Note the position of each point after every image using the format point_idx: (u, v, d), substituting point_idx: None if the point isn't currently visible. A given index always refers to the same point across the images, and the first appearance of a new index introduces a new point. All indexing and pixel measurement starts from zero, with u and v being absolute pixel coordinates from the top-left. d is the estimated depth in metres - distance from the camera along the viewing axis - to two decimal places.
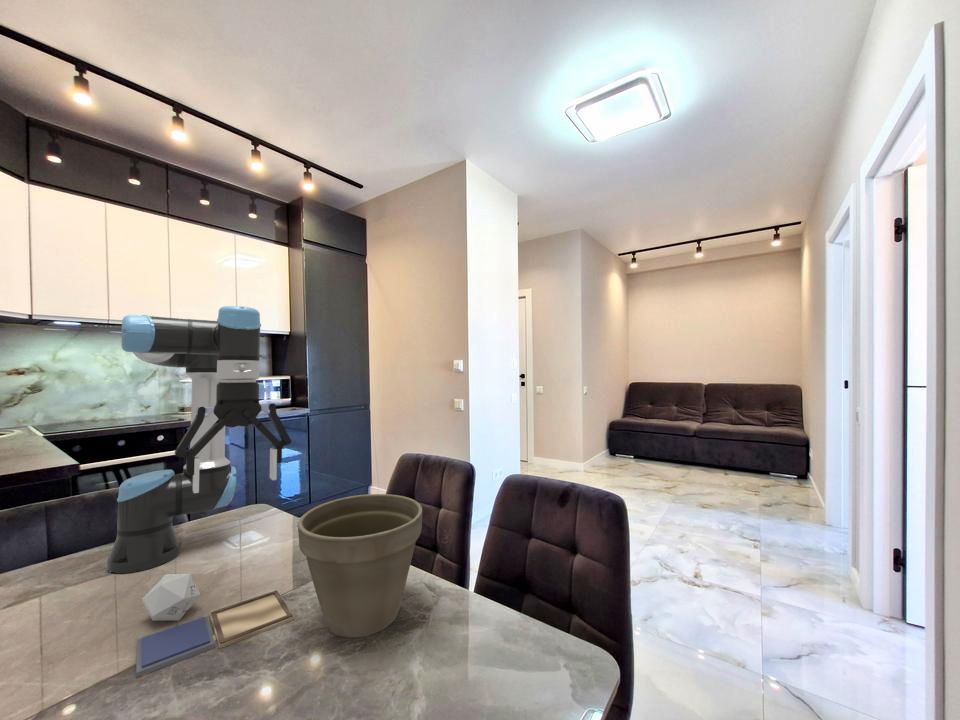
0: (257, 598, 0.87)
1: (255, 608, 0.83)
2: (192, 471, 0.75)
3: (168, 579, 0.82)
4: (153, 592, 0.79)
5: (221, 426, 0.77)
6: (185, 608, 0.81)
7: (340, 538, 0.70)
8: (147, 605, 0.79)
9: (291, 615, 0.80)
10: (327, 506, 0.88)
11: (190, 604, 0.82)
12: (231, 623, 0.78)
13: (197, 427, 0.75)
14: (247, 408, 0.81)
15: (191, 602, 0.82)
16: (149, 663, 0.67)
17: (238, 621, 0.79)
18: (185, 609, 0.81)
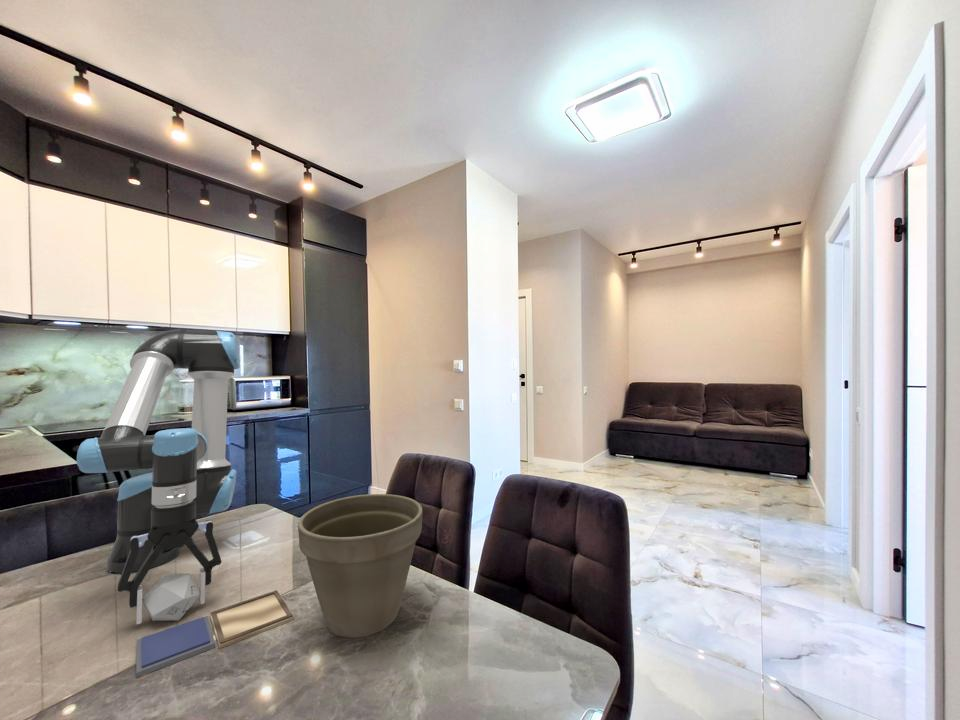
0: (257, 598, 0.87)
1: (255, 608, 0.83)
2: (135, 602, 0.78)
3: (168, 579, 0.82)
4: (153, 592, 0.79)
5: (158, 552, 0.80)
6: (185, 608, 0.81)
7: (340, 538, 0.70)
8: (147, 605, 0.79)
9: (291, 615, 0.80)
10: (327, 506, 0.88)
11: (190, 604, 0.82)
12: (231, 623, 0.78)
13: (134, 559, 0.77)
14: (184, 529, 0.83)
15: (191, 602, 0.82)
16: (149, 663, 0.67)
17: (238, 621, 0.79)
18: (185, 609, 0.81)
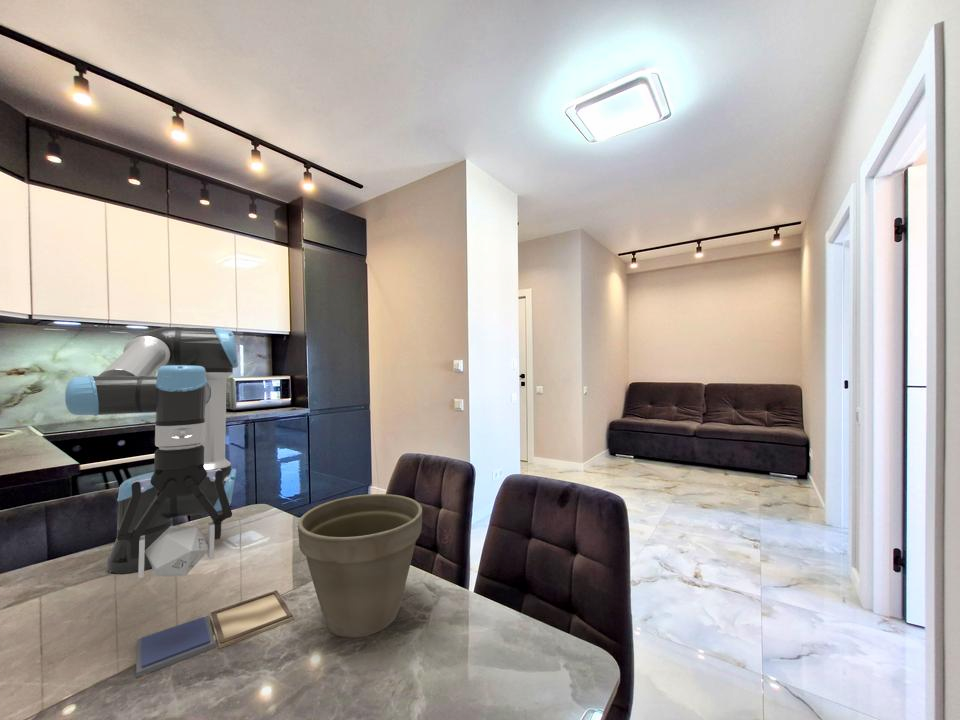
0: (257, 598, 0.87)
1: (255, 608, 0.83)
2: (137, 554, 0.69)
3: (173, 530, 0.73)
4: (157, 543, 0.71)
5: (162, 499, 0.71)
6: (192, 562, 0.73)
7: (340, 538, 0.70)
8: (150, 557, 0.70)
9: (291, 615, 0.80)
10: (327, 506, 0.88)
11: (198, 559, 0.74)
12: (231, 623, 0.78)
13: (135, 505, 0.69)
14: (191, 475, 0.74)
15: (199, 556, 0.74)
16: (149, 663, 0.67)
17: (238, 621, 0.79)
18: (192, 564, 0.73)
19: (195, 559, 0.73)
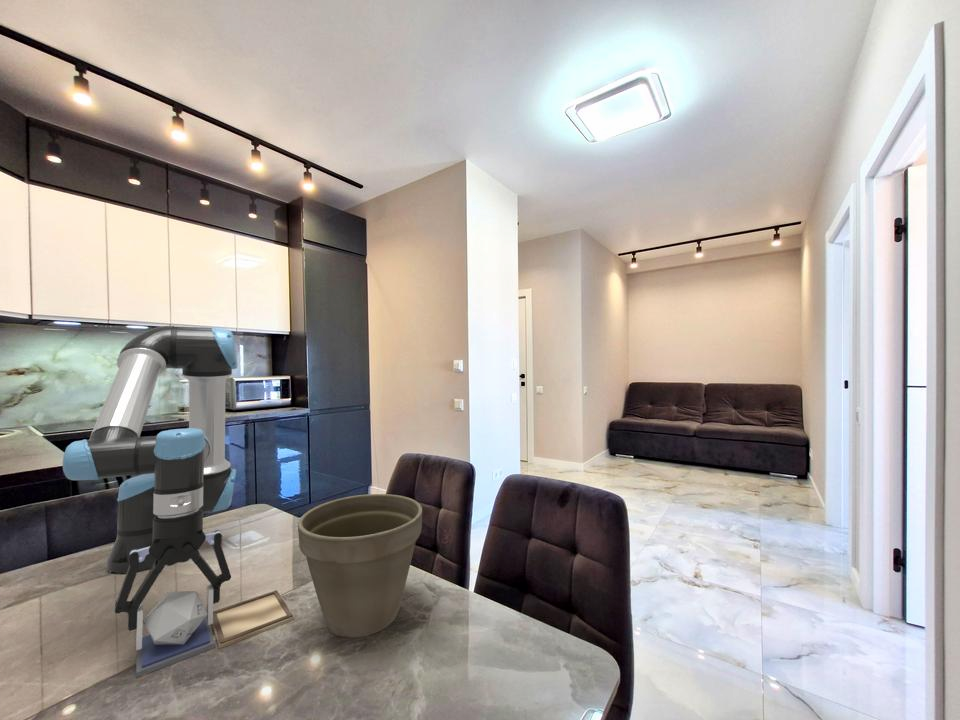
0: (257, 598, 0.87)
1: (255, 608, 0.83)
2: (134, 625, 0.69)
3: (171, 597, 0.73)
4: (155, 612, 0.70)
5: (160, 568, 0.71)
6: (191, 630, 0.72)
7: (340, 538, 0.70)
8: (148, 627, 0.70)
9: (291, 615, 0.80)
10: (327, 506, 0.88)
11: (196, 625, 0.73)
12: (231, 623, 0.78)
13: (133, 576, 0.68)
14: (189, 541, 0.74)
15: (198, 623, 0.73)
16: (149, 663, 0.67)
17: (238, 621, 0.79)
18: (191, 631, 0.72)
19: (194, 626, 0.73)
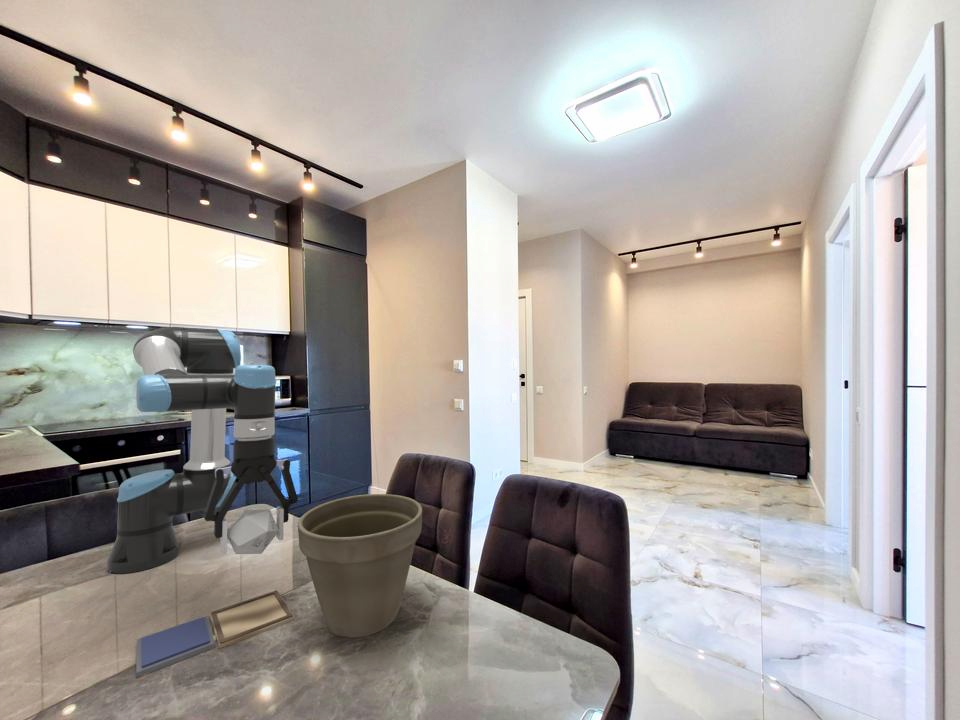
0: (257, 598, 0.87)
1: (255, 608, 0.83)
2: (220, 533, 0.77)
3: (249, 513, 0.81)
4: (237, 524, 0.79)
5: (241, 485, 0.79)
6: (267, 542, 0.81)
7: (340, 538, 0.70)
8: (232, 536, 0.78)
9: (291, 615, 0.80)
10: (327, 506, 0.88)
11: (271, 539, 0.82)
12: (231, 623, 0.78)
13: (219, 490, 0.77)
14: (264, 464, 0.83)
15: (272, 537, 0.82)
16: (149, 663, 0.67)
17: (238, 621, 0.79)
18: (267, 543, 0.81)
19: (269, 539, 0.81)
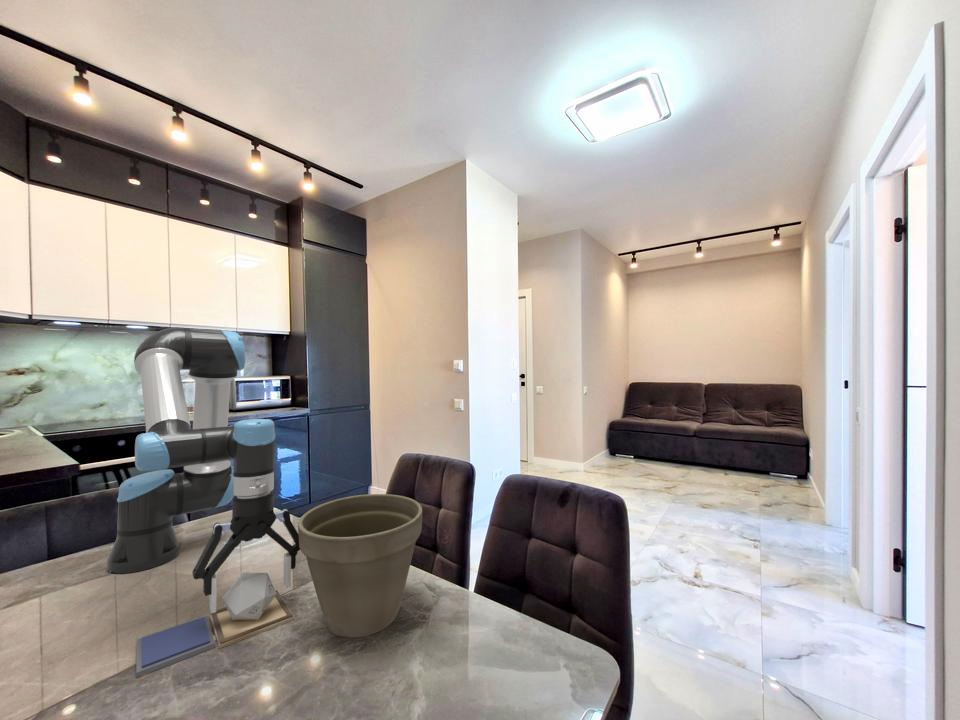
0: None
1: None
2: (209, 591, 0.76)
3: (246, 577, 0.81)
4: (234, 591, 0.78)
5: (237, 543, 0.78)
6: (264, 607, 0.80)
7: (340, 538, 0.70)
8: (228, 604, 0.78)
9: (291, 615, 0.80)
10: (327, 506, 0.88)
11: (268, 603, 0.81)
12: (231, 623, 0.78)
13: (214, 547, 0.76)
14: (262, 520, 0.82)
15: (269, 601, 0.81)
16: (149, 663, 0.67)
17: (238, 621, 0.79)
18: (264, 608, 0.80)
19: (266, 604, 0.81)
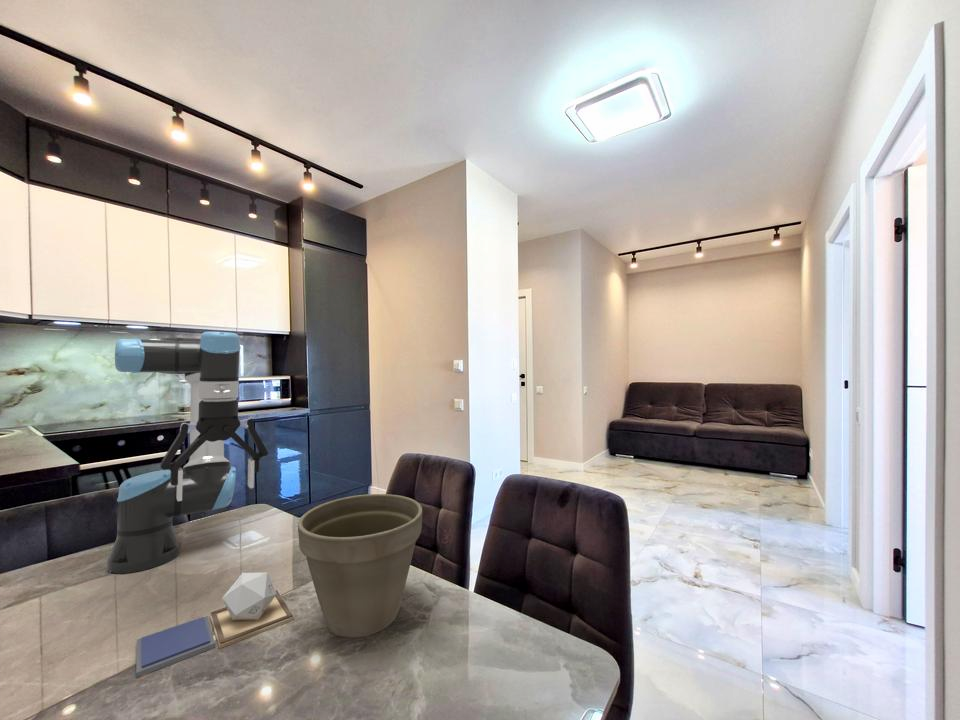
0: None
1: None
2: (176, 481, 0.83)
3: (246, 577, 0.81)
4: (234, 591, 0.78)
5: (203, 441, 0.86)
6: (264, 607, 0.80)
7: (340, 538, 0.70)
8: (228, 604, 0.78)
9: (291, 615, 0.80)
10: (327, 506, 0.88)
11: (268, 603, 0.81)
12: (231, 623, 0.78)
13: (180, 442, 0.83)
14: (227, 424, 0.89)
15: (269, 601, 0.81)
16: (149, 663, 0.67)
17: (238, 621, 0.79)
18: (264, 608, 0.80)
19: (266, 604, 0.81)
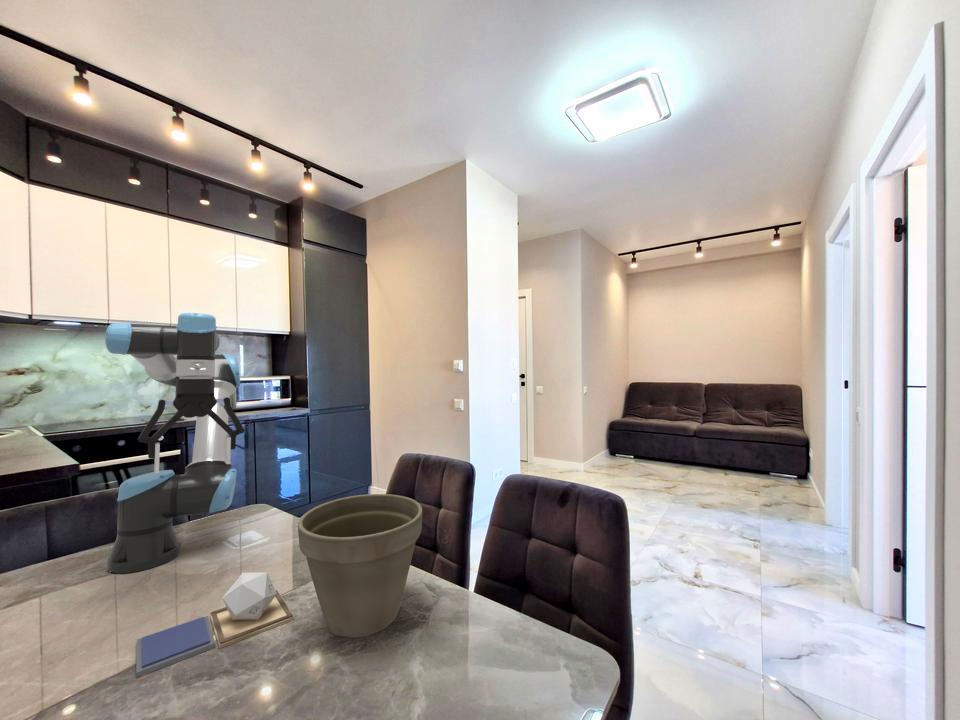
0: None
1: None
2: (153, 455, 0.87)
3: (246, 577, 0.81)
4: (234, 591, 0.78)
5: (179, 416, 0.90)
6: (264, 607, 0.80)
7: (340, 538, 0.70)
8: (228, 604, 0.78)
9: (291, 615, 0.80)
10: (327, 506, 0.88)
11: (268, 603, 0.81)
12: (231, 623, 0.78)
13: (158, 417, 0.87)
14: (203, 401, 0.93)
15: (269, 601, 0.81)
16: (149, 663, 0.67)
17: (238, 621, 0.79)
18: (264, 608, 0.80)
19: (266, 604, 0.81)
